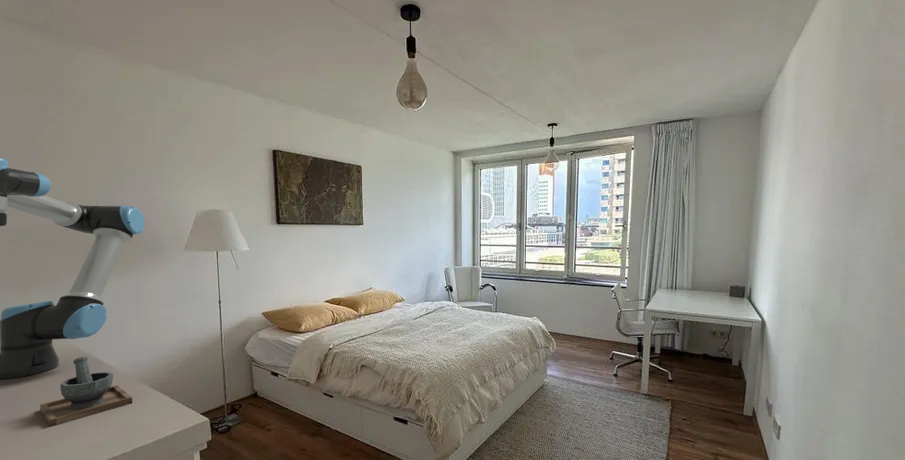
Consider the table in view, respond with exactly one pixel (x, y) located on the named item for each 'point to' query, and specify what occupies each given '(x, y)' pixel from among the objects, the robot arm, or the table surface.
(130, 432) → the table surface
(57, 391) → the table surface
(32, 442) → the table surface
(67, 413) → the walnut tray
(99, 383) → the mortar and pestle
